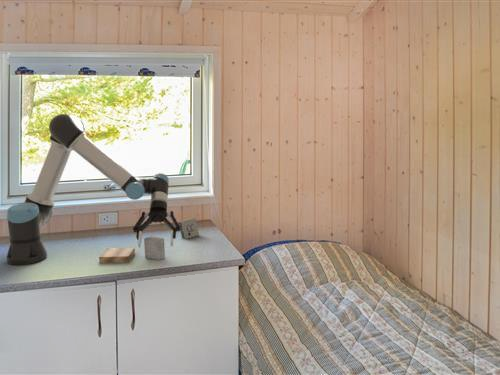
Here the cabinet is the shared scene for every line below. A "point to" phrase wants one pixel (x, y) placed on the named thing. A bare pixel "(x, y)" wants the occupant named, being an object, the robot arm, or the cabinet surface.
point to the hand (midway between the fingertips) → (155, 245)
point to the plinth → (116, 255)
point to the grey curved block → (154, 248)
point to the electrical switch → (189, 228)
